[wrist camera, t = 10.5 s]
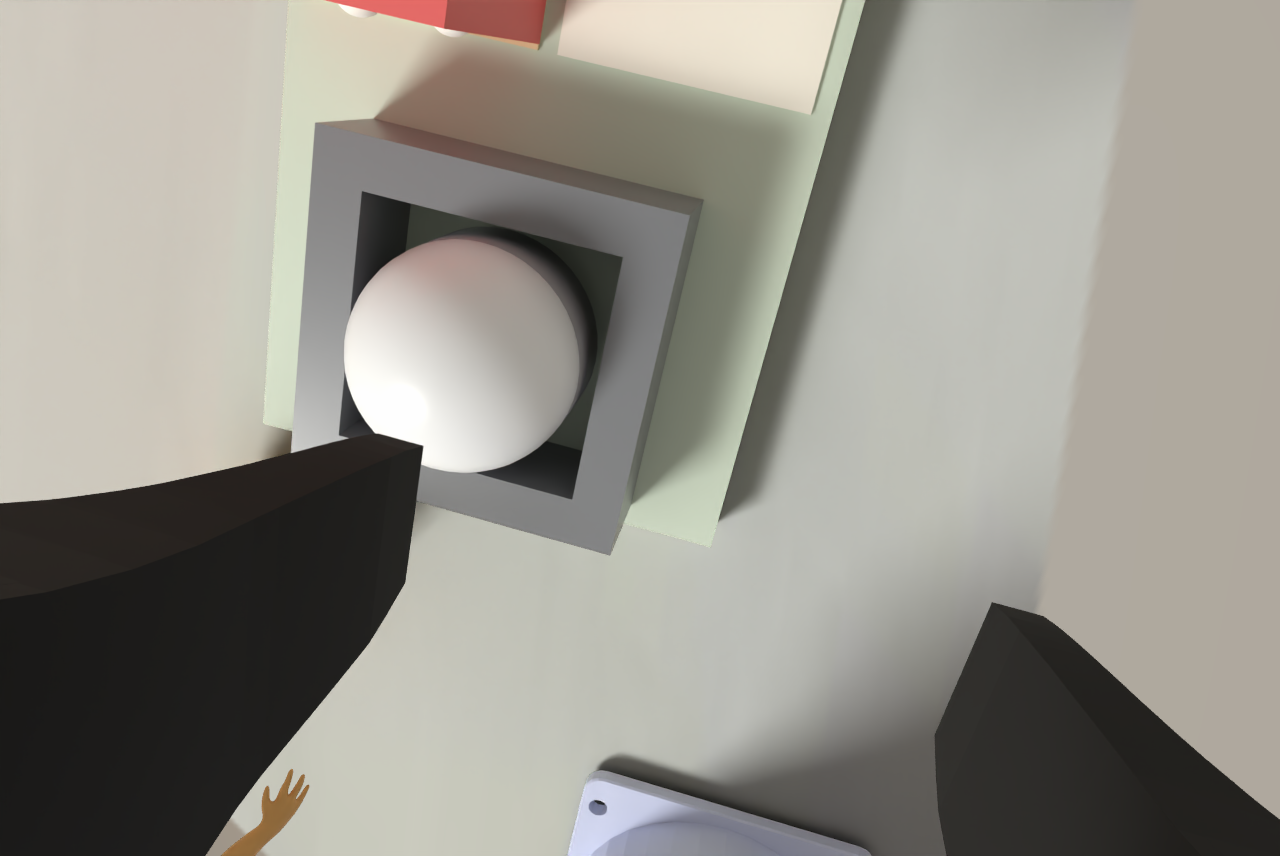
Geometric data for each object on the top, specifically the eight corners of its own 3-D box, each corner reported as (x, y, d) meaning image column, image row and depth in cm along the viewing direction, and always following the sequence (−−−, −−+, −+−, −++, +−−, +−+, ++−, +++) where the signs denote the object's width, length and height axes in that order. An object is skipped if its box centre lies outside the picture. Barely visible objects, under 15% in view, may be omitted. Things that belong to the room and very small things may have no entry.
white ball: (581, 447, 20) (524, 540, 16) (392, 396, 20) (289, 474, 16) (623, 251, 18) (570, 299, 14) (416, 199, 18) (306, 230, 14)
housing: (630, 505, 21) (610, 555, 18) (343, 426, 21) (289, 465, 19) (703, 200, 18) (689, 215, 16) (373, 118, 19) (315, 122, 16)
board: (715, 524, 22) (710, 549, 21) (289, 407, 23) (260, 425, 21) (928, -234, 16) (938, -260, 15) (343, -353, 17) (308, -387, 16)
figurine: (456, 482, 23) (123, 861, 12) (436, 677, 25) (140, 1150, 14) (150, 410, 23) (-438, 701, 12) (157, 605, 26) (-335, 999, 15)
